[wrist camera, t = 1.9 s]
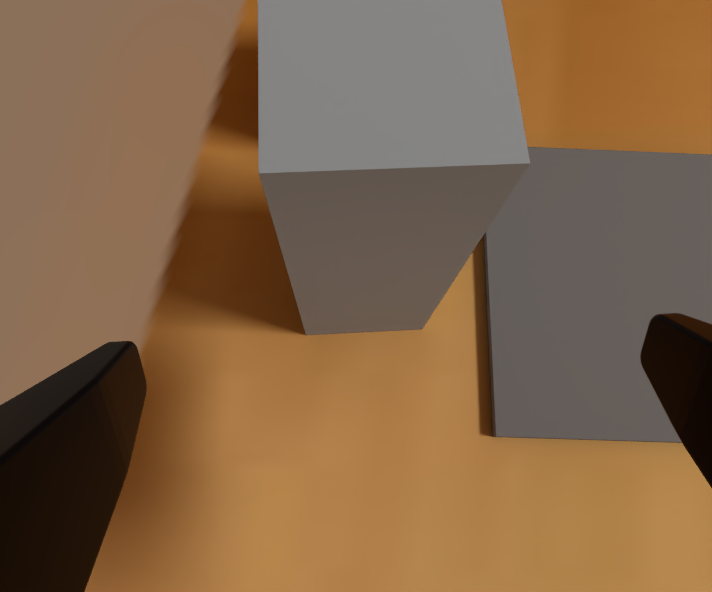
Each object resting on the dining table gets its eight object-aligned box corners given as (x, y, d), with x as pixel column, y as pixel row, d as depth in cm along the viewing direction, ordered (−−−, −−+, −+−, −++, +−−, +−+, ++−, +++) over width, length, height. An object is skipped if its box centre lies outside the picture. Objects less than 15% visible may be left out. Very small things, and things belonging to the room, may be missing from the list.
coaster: (762, 445, 19) (770, 445, 19) (492, 436, 19) (496, 436, 19) (707, 159, 23) (713, 154, 22) (479, 150, 22) (482, 145, 22)
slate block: (422, 329, 20) (529, 163, 9) (306, 335, 20) (258, 173, 8) (411, 223, 21) (493, -44, 10) (302, 227, 21) (257, -39, 10)
